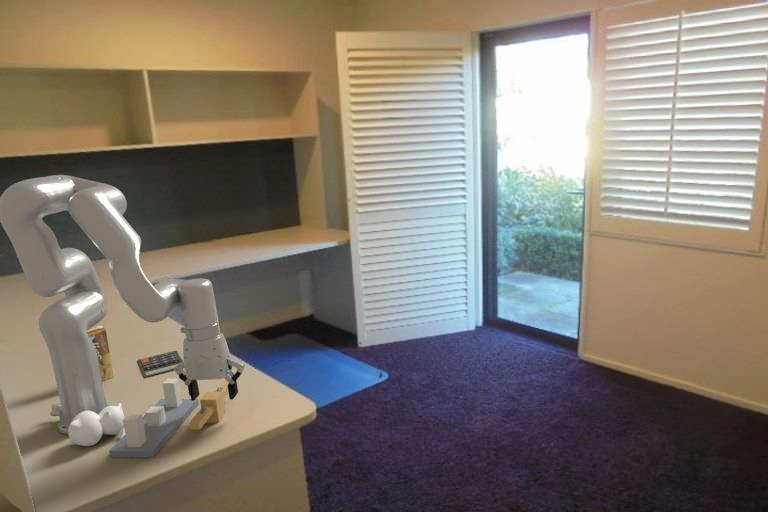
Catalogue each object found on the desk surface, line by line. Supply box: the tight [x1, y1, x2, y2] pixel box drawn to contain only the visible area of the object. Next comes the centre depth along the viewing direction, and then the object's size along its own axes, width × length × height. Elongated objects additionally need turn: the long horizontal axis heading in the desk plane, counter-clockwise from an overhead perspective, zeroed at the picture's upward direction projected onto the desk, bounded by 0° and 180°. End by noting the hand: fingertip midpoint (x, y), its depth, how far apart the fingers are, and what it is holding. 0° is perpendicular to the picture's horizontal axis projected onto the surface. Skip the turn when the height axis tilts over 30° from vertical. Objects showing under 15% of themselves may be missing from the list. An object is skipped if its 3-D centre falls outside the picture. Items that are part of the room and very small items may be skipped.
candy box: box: [87, 325, 115, 382], centre depth 158 cm, size 9×4×15 cm, turn 137°
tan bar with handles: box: [188, 381, 229, 430], centre depth 135 cm, size 4×20×6 cm, turn 174°
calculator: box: [136, 350, 185, 379], centre depth 169 cm, size 12×1×15 cm
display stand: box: [108, 378, 200, 458], centre depth 131 cm, size 10×23×8 cm, turn 174°
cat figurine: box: [67, 402, 126, 447], centre depth 127 cm, size 9×11×12 cm
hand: (214, 397), depth 134 cm, fingers open, 9 cm apart
